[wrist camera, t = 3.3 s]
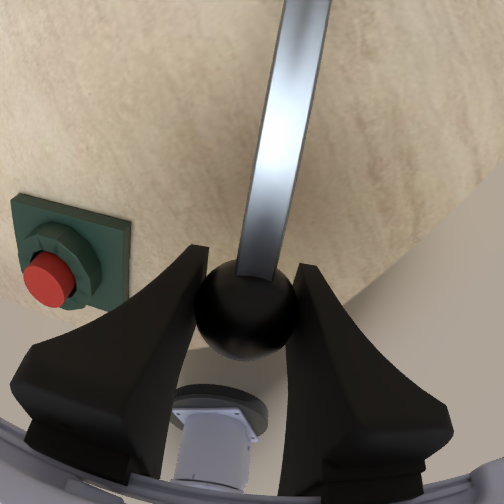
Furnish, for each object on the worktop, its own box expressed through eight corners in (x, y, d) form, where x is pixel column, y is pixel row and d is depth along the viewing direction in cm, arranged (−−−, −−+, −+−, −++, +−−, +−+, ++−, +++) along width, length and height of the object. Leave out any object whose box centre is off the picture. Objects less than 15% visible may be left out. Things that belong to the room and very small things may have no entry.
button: (73, 258, 18) (60, 275, 17) (77, 297, 20) (67, 314, 19) (32, 245, 18) (18, 259, 17) (39, 283, 20) (28, 298, 19)
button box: (131, 221, 20) (112, 246, 17) (128, 306, 24) (115, 333, 22) (19, 192, 19) (-5, 211, 16) (31, 273, 23) (14, 295, 21)
